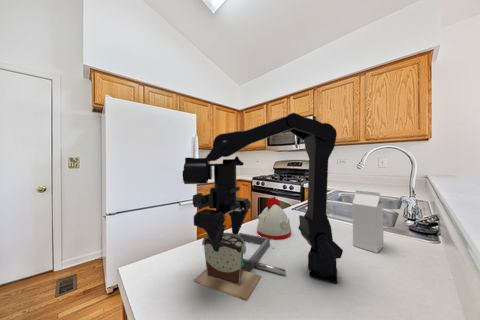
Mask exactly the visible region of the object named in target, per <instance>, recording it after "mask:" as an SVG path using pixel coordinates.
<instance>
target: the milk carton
mask: <svg viewBox="0 0 480 320" xmlns="http://www.w3.org/2000/svg"><path fill="white" fill-rule="evenodd" d="M351 208H352V246H354V247H356V248H360V249H362V250H366V251H370V252H372V253H375V254H378V253H379V252H380V250H381V249H383V247H384V245H385V244H384V203H383V199H382V198H381V192H376V191H375V192H374V191H367V190H366V191H364V190H359V189H358V190H355V195H354V198H353V200H352V207H351Z"/></svg>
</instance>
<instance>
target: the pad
mask: <svg viewBox="0 0 480 320" xmlns="http://www.w3.org/2000/svg"><path fill="white" fill-rule="evenodd" d="M261 278H262V275H261V274H257V273H254V272H251V271H247V270H244V269H242V276H241V284H240V286H238V285H234V284H231V283H228V282H224V281H221V280H218V279H214V278H211V277H208V276H207V269H206V268H205V269H204V270H203V271H202V272H201V273H200V274H199V275H197V277H195V278H194V279H193V282H195V283H197V284H201V285H203V286H206V287H208V288H211V289H214V290H216V291H219V292H222V293H224V294H227V295H230V296H233V297H235V298H238V299H240V300H244V301H246V302H247V301H248V300H249V298H250V297H251V295H252V293H253V291H254V290H255V288H256V286H257V285H258V284H259V282H260V280H261Z"/></svg>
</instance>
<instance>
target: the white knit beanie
mask: <svg viewBox="0 0 480 320" xmlns="http://www.w3.org/2000/svg"><path fill="white" fill-rule="evenodd" d="M267 198H268V197H267ZM280 202H281V201H280V200H278V198H276V196H273V197H272V196H271V197H270V198H268V199H267V201H266V202H265V204H266V207H265V208H264V209H263V210H262V212H261V213H259V215H258V216H257V217H258V222H257V227H256V232H257V233H258V234H257V236H259V235H260V236H261V237H265V238H270V241H281V240H286V239H288V238H290V237H291V236H292V228H291V227H292V226H291V224H290V223H291V222H290V218H288V215H287V214H286V212H285V210H284V209H283V208H281V206H280Z"/></svg>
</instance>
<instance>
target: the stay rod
mask: <svg viewBox="0 0 480 320" xmlns="http://www.w3.org/2000/svg"><path fill="white" fill-rule="evenodd" d="M253 267H254V268H256V269H259V270H264V271H267V272H271V273H274V274H278V275H282V276H286V275H287V269H284V268H281V267H277V266H273V265H269V264H265V263H261V262H259V261H258V262H254V263H253Z"/></svg>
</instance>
